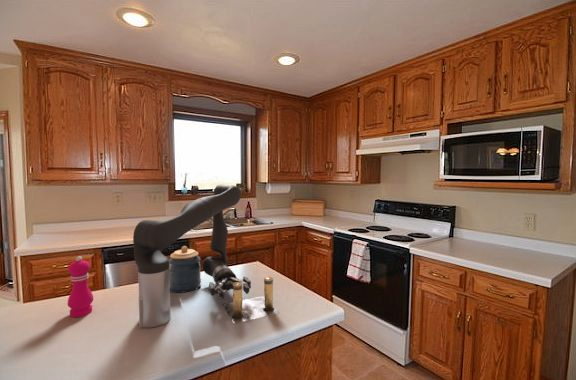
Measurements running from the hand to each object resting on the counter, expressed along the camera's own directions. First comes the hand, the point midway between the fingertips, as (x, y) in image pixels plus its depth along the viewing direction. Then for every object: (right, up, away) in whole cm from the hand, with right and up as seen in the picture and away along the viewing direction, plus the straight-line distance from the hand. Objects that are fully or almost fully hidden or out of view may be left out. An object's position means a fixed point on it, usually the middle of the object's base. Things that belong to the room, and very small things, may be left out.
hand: (235, 293), depth 95 cm
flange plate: (+5, -8, +4) cm, 10 cm away
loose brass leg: (+1, -7, -2) cm, 7 cm away
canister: (-26, -7, +25) cm, 37 cm away
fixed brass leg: (+11, -7, +3) cm, 13 cm away
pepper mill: (-54, -8, +3) cm, 55 cm away
